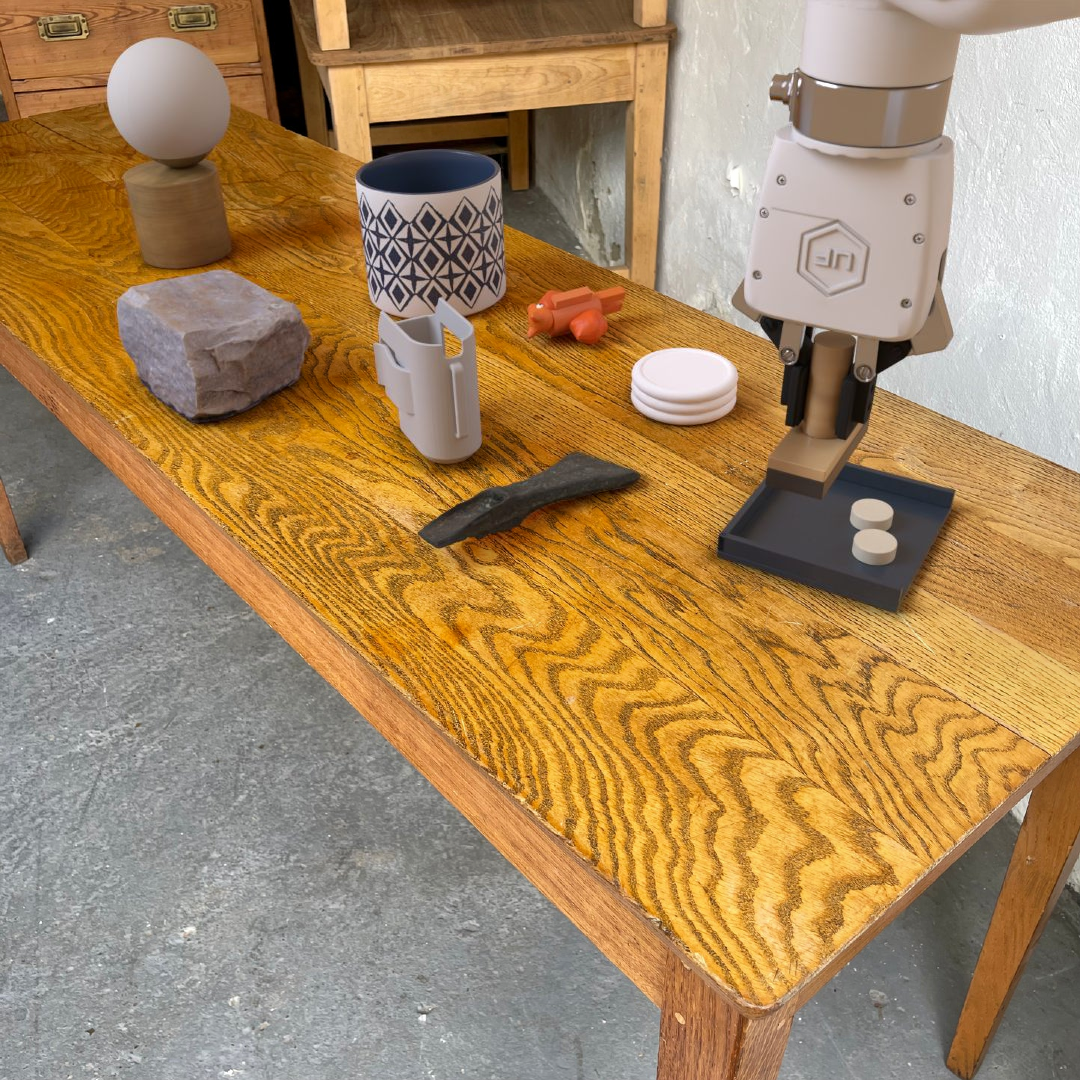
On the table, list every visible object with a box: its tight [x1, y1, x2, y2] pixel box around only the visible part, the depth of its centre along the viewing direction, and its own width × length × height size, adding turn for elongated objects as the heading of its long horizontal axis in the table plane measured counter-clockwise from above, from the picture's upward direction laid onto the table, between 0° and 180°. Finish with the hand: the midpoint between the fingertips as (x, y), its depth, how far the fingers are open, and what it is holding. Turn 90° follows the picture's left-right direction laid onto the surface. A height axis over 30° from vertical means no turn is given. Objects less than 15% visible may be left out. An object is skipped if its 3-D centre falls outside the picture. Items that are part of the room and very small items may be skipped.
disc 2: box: [852, 529, 897, 565], centre depth 84 cm, size 3×3×1 cm
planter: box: [354, 148, 507, 320], centre depth 124 cm, size 16×16×14 cm
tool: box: [416, 451, 642, 549], centre depth 90 cm, size 21×8×3 cm, turn 135°
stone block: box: [116, 269, 312, 425], centre depth 110 cm, size 17×12×15 cm
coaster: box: [630, 347, 739, 426], centre depth 105 cm, size 10×10×4 cm
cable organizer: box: [372, 298, 483, 465], centre depth 97 cm, size 7×12×12 cm, turn 27°
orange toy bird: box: [526, 285, 627, 345], centre depth 117 cm, size 5×8×12 cm
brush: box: [765, 330, 871, 500], centre depth 66 cm, size 4×9×8 cm, turn 150°
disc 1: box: [850, 499, 894, 531], centre depth 87 cm, size 3×3×1 cm
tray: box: [716, 461, 956, 614], centre depth 87 cm, size 14×15×2 cm
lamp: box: [106, 36, 233, 270], centre depth 136 cm, size 15×14×25 cm
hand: (823, 421), depth 67 cm, fingers closed on brush, 2 cm apart
